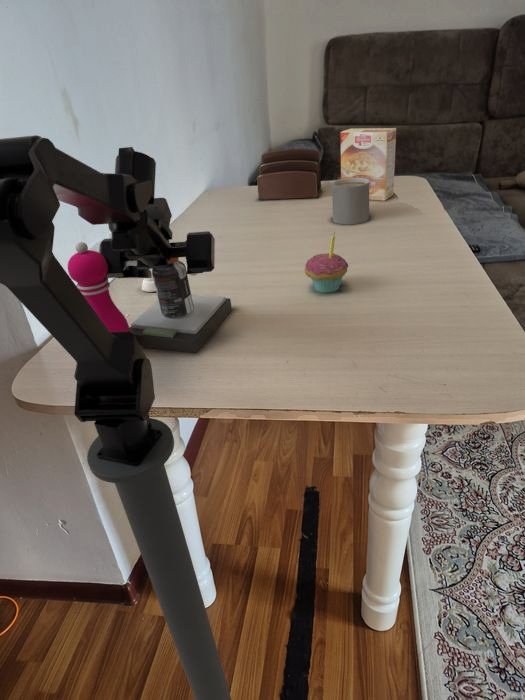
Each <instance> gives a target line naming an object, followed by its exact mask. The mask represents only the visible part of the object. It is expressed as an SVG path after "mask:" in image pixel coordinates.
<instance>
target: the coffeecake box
mask: <svg viewBox="0 0 525 700" xmlns="http://www.w3.org/2000/svg"><path fill="white" fill-rule="evenodd" d="M396 144H397V127H390V128H389V127H370V128H369V127H366V128H365V127H364V128H363V127H360V128H359V127H356V128H352V127H350V128H348V129H345V130H344V129H343V130H342V131H340V179H345V178H365V179H368V180H369V181H370V190H369V201H381V202H383V201H384V202H385V201H387V200H388V199H389V198H391V197H393V196H394V194H395V193H394V191H395V190H394V189H395V170H396V169H395V167H396Z"/></svg>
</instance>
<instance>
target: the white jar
mask: <svg viewBox="0 0 525 700" xmlns="http://www.w3.org/2000/svg"><path fill="white" fill-rule="evenodd" d="M141 290H142V291H143V292H147V293H153V292H156V288H155V283H154V279H153V274H152V275H151V278H143V280H142V283H141Z"/></svg>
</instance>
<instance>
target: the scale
mask: <svg viewBox="0 0 525 700" xmlns="http://www.w3.org/2000/svg"><path fill="white" fill-rule="evenodd" d="M191 296H192V301H193V306H194V309H193V311H192V312H191V313H189V314H188V315H186V316H183V317H179V318H167V317H165V316H163V315H162V312H161V308H160V304H159V300H158V299H157V300H156V301H155V302H154V303H153V304H152V305H151V306H149V308H147V309H146V310H145V311H144V312H143V313H141V314H140V315H139V316H138V317H137V318H136V319H135V320H134V321H132V323H130V326H129V331H130V332H131V333H132V334H134V335H135V337H136V339H137V341H138V343H139V344H140V345H141V346H143V348H146V349H147V348H148V349H154V350H155V349H157V350H164V351H173V352H183V353H191V354H196V353H197V352H198V351H199V350H200V349H201V347H202V346H204V344H205V343H206V342H207V341H208V339H209V338H210V337H211V336H212V334H213V333H214V332H215V331H216V330H217V328H218V327H219V326H220V325H221V324H222V322H223V321H224V320H225V319H226V318H227V316H228V315H229V314H230V313H231V312H232V310H233V307H232V300H231V298H227V297H226V296H219V295H218V296H217V295H201V294H191Z"/></svg>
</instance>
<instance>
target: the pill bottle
mask: <svg viewBox="0 0 525 700" xmlns="http://www.w3.org/2000/svg"><path fill="white" fill-rule="evenodd" d="M151 273H152V274H153V279H154V283H155V288H156V291H155V292H156V296H157V301H158V300H159V304H160V308H161V312H162V315H163V316H165V317H167V318H179V317H183V316H186V315H188V314H189V313H191V312H192V311H193V309H194V306H193V301H192V296H191V295H192V292H191V287H190V283H189V282H190V281H189V277H188V274H187V266H186V264H185V263H184V262H182V261H181V260H179V257H178V258H170V260H169V265H168V268H155V269H151Z"/></svg>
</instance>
